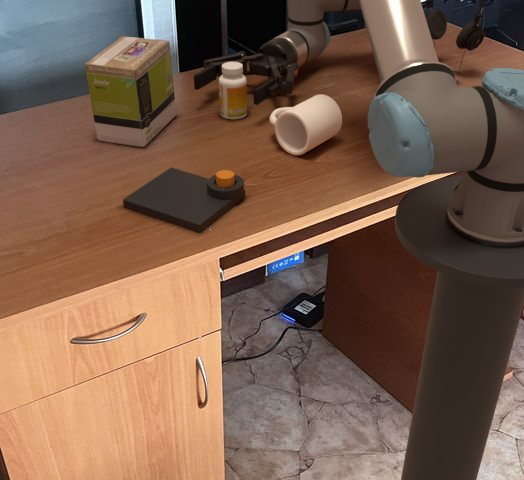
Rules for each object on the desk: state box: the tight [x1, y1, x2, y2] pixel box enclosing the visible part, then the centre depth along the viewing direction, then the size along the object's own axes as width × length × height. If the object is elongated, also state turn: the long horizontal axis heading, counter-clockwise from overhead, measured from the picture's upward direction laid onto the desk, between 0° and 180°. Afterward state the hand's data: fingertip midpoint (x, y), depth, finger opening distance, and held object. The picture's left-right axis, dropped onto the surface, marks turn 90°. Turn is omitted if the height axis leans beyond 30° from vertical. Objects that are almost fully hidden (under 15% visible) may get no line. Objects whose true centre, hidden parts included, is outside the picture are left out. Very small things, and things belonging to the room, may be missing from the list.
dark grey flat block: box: [122, 167, 246, 233], centre depth 127 cm, size 15×14×3 cm
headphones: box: [424, 0, 486, 84], centre depth 165 cm, size 15×11×20 cm
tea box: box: [85, 35, 177, 148], centre depth 144 cm, size 15×10×15 cm, turn 161°
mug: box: [269, 93, 343, 156], centre depth 142 cm, size 12×10×8 cm
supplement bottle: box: [218, 62, 248, 120], centre depth 151 cm, size 5×5×10 cm
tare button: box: [215, 169, 236, 187], centre depth 127 cm, size 3×3×2 cm
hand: (224, 90), depth 149 cm, fingers open, 13 cm apart
